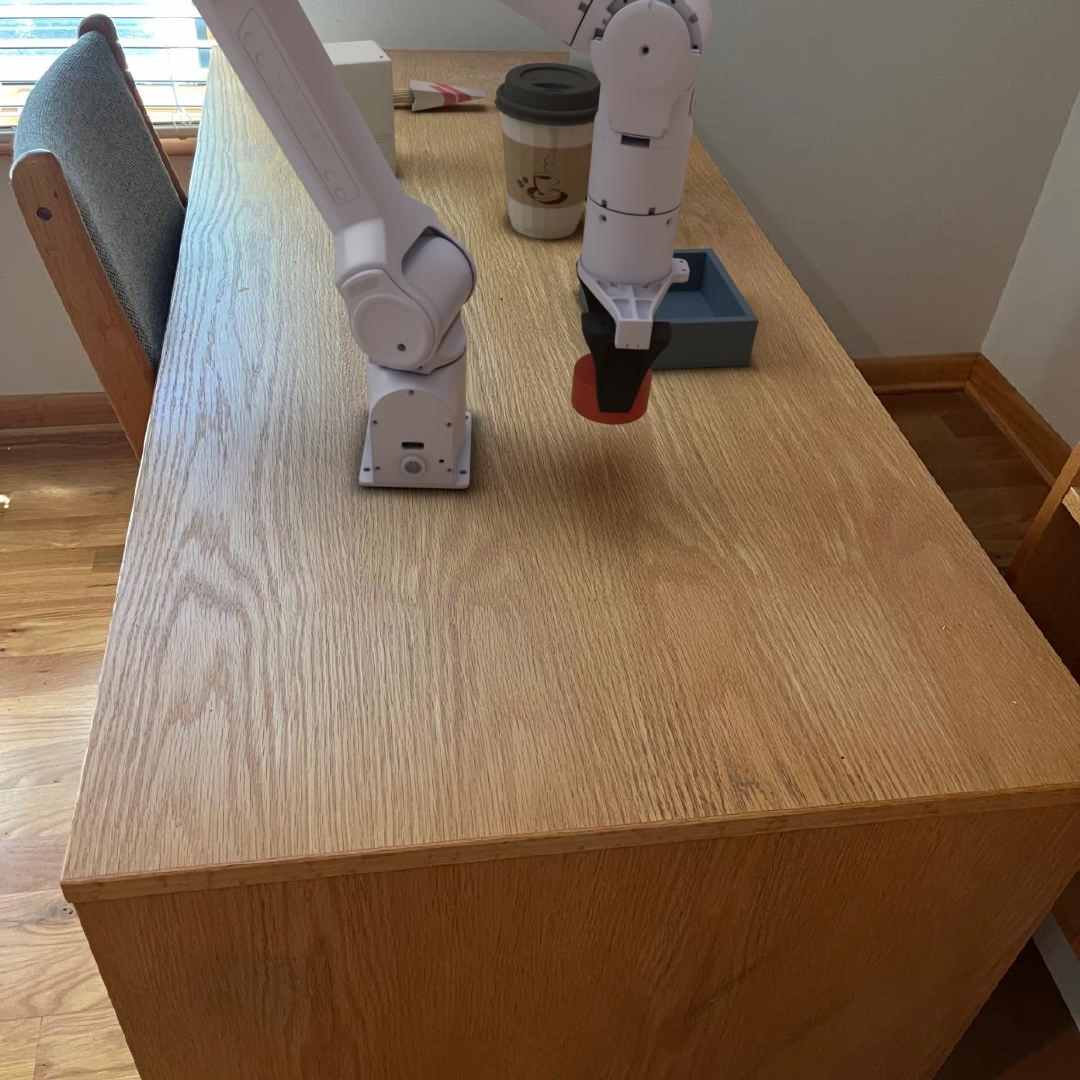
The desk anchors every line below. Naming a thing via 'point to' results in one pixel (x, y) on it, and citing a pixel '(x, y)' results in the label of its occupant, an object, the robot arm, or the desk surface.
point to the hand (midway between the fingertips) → (610, 385)
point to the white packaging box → (369, 88)
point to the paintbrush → (434, 94)
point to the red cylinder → (587, 399)
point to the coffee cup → (547, 145)
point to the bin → (704, 316)
